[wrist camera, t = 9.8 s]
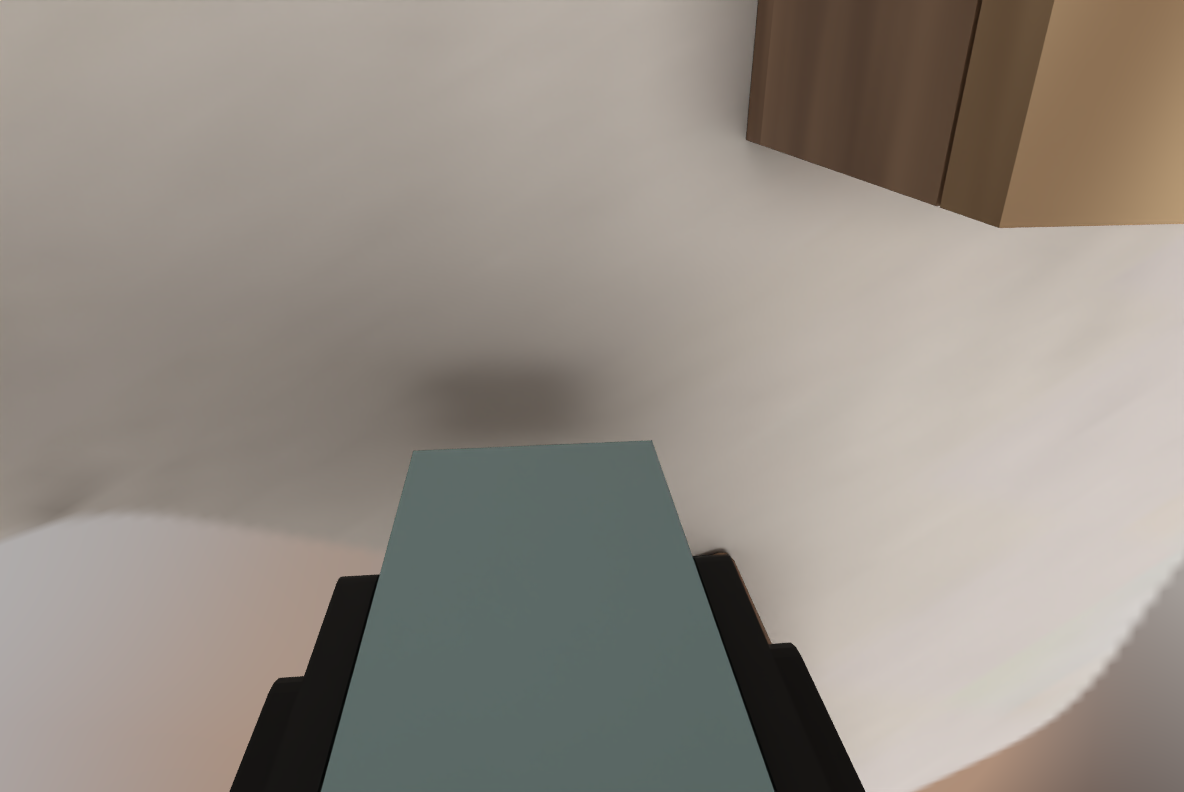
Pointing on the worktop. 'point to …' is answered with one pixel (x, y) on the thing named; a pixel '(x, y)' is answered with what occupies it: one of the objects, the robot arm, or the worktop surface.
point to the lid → (1072, 115)
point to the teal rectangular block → (542, 636)
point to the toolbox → (864, 86)
